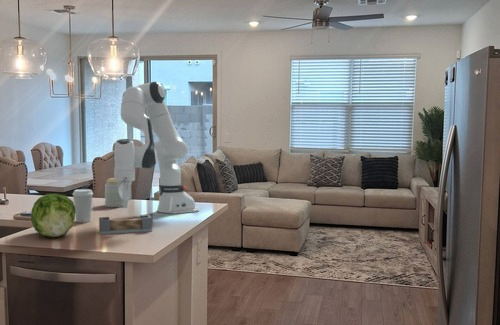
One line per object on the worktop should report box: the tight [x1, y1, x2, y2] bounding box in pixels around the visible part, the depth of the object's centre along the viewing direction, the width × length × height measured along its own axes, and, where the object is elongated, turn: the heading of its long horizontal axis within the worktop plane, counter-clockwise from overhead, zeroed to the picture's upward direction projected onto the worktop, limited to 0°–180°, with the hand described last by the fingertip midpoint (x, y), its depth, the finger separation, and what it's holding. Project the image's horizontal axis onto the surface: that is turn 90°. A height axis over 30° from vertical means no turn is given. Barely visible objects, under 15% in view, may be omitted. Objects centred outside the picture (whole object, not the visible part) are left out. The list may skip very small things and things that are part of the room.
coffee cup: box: [72, 188, 94, 224], centre depth 241 cm, size 10×10×15 cm
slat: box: [110, 217, 142, 230], centre depth 222 cm, size 18×3×4 cm, turn 110°
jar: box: [104, 177, 129, 208], centre depth 286 cm, size 13×13×18 cm
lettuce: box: [30, 193, 76, 238], centre depth 212 cm, size 18×23×19 cm
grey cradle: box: [98, 214, 153, 235], centre depth 222 cm, size 22×7×6 cm, turn 110°
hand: (124, 207), depth 221 cm, fingers closed
